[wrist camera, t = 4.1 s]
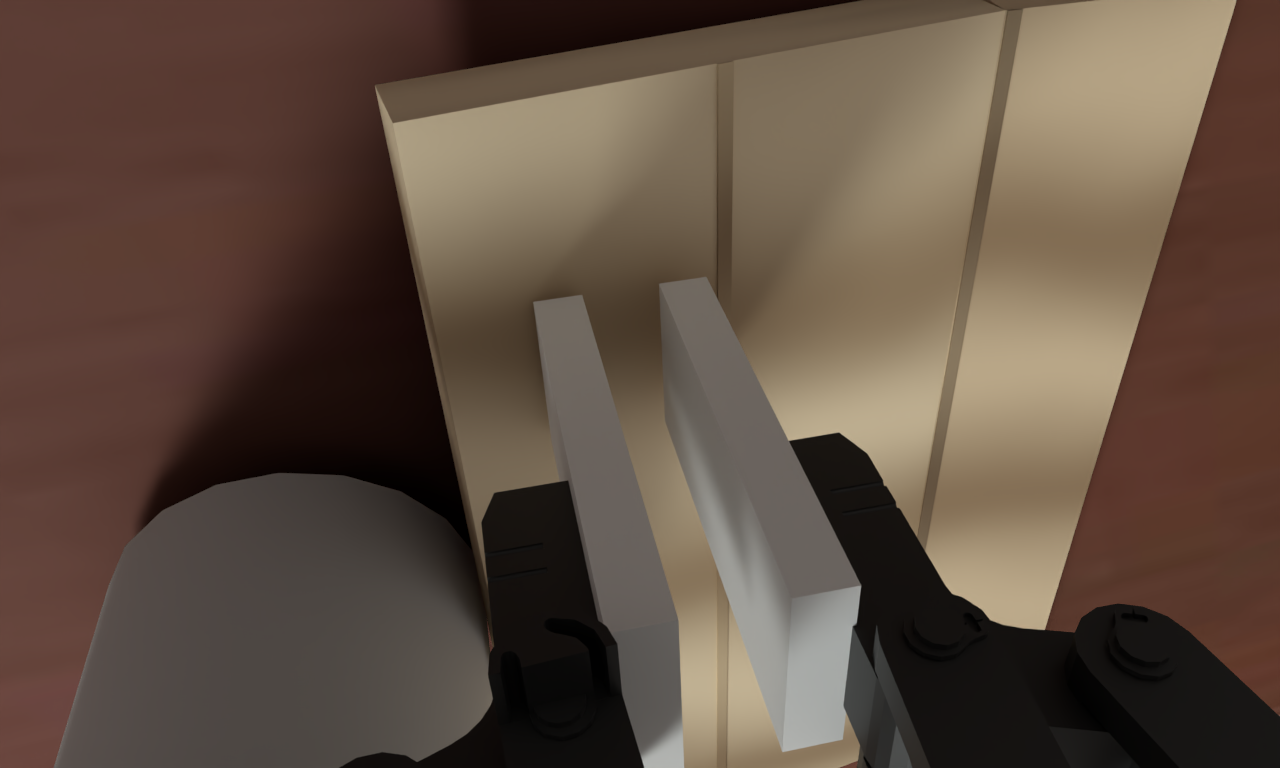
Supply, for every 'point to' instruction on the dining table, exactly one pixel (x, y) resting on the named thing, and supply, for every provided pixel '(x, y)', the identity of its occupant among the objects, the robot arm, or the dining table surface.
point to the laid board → (1056, 279)
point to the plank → (703, 263)
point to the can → (284, 633)
